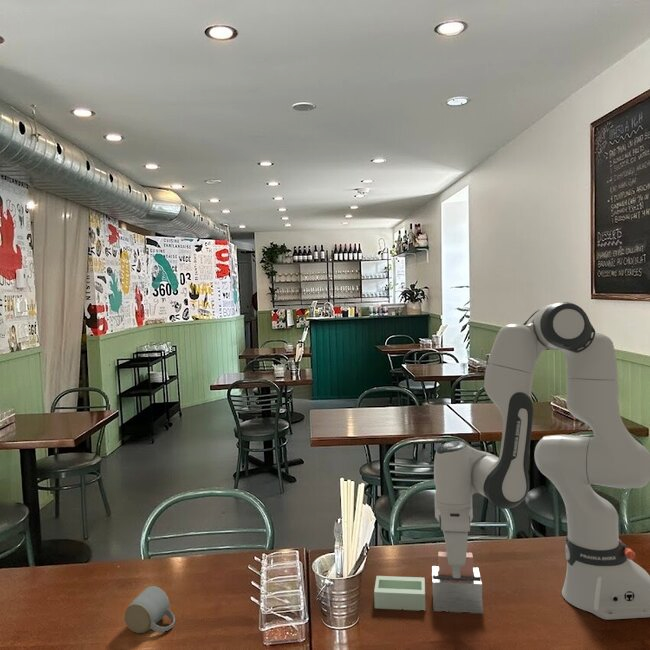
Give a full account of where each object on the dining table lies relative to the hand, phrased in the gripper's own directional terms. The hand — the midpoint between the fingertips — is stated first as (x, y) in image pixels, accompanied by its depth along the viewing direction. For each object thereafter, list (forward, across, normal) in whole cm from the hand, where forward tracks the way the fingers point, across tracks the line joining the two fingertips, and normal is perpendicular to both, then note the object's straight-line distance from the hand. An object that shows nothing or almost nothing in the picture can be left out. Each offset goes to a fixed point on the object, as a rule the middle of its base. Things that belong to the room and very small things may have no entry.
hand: (455, 567), depth 137 cm
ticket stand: (+9, 0, -13) cm, 16 cm away
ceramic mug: (+10, +16, -70) cm, 73 cm away
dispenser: (+9, 0, 0) cm, 9 cm away
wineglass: (+9, -19, -30) cm, 36 cm away
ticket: (+7, 0, 0) cm, 7 cm away
